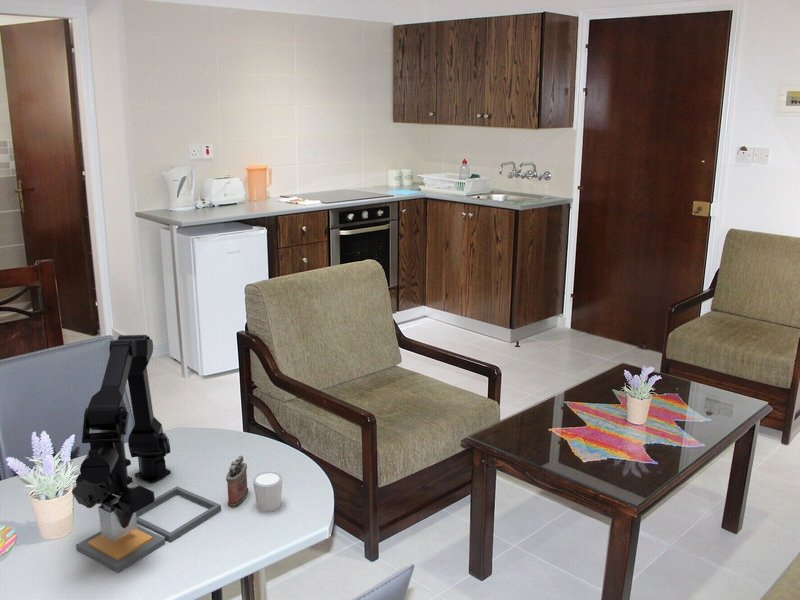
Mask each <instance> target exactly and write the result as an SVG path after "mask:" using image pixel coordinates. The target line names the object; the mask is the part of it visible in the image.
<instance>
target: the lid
mask: <svg viewBox="0 0 800 600" xmlns="http://www.w3.org/2000/svg"><path fill="white" fill-rule="evenodd" d="M165 539H166V537H164V536H162V535H160V534H158V533H156V532H154V531H152V530H150V529H148V528H146V527H144V526H141V525H139V524H137V529H136V530H134V531H132V532H131V533H129V534H127V535H125V536H124V537H122V538H120V539H119V540H117V541H115V542H112V541H110V540H108V539H106V538H105V537H103V536H102V534H101V530H99V531H98V532H97V533H95V534H92V535H91V536H89V537H87V538H86V539H84V540H82V541H80V542H78V543H77V544H75V548H76V549H77V550H76V549H75V550H76V551H78V550H79V551H78V552H80V551H81V552H80V553H82V552H83V553H84V555H85V554H86V556H87V555H88V557H89V556H90V557H89V558H91V559H93V560H94V559H95V560H94V561H97V563H100V564H102V565H104V566H105V567H106V568H109V569H111V570H113V571H114V572H116V573H120V572H122V571H124V570H125V569H127V568H128V567H130V566H132V565H133V564H135V563H136V562H138V561H140V560H141V559H143V558H144V557H146V556H147V555H149V554H151V553H153V552H154V551H156V550H157V549H159V548H161V547H162V546H165V545H166V540H165ZM83 553H82V554H83Z"/></svg>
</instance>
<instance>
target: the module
mask: <svg viewBox="0 0 800 600" xmlns="http://www.w3.org/2000/svg"><path fill="white" fill-rule="evenodd" d="M119 499H120V497H116V498H114V499H113V500H111V501H109V502H107V503H105V504H103V505H101V504H100V505H99V506H98V508H97V509H98V517H99V525H100V531H101V534H102V536H103V537H105V538H106V539H108V540H110V541H112V542H115V541H117V540H119V539H120V538H122V537H124V536H125V535H127V534H129V533H131V532H132V531H134V530H136V529H137V520H136V512H135V513H133V515H132V518H131V520H130V522H129V525H128V526H127V527H126V528H123V527H122V524H121V521H120V516H119V512H118V509H116V508H114V507H112V505H114V504H116V503H117V502H119Z"/></svg>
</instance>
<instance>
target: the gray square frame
mask: <svg viewBox="0 0 800 600" xmlns="http://www.w3.org/2000/svg"><path fill="white" fill-rule="evenodd" d="M176 496H179V497H181V498H184V499H185V500H188V501H191V502H193V503H195V504H198V505H200V506H203V507H204V508H207V510H205V511H204V512H202V513H200V514H198V515H197V516H195V517H194V518H192V519H189V521H187V522H185V523H184V524H182V525H180V526H179V527H177V528H176V529H174V530H172V531H169V530H166V529H164V528H162V527H160V526H158V525H156V524H154V523H152V522H149V521H147V520H145V519H143V518H141V517H140V516H142V515H144V514H145V513H147V512H149V511H150V510H152V509H154V508H156V507H158V506H160V505H162V504H164V503H165V502H167V501H168V500H171V499H172V498H174V497H176ZM221 511H222V504H220V503H218V502H215V501H213V500H211V499H208V498H205V497H203V496H200V495H198V494H196V493H193V492H192V491H190V490H187V489H184V488H183V487H180V486H175V487H172V489H169V490H168V491H165V492H164V493H162V494H161V495H159V496H156V497H155V501H154V502H153V503H151V504H149V505H147V506H146V507H144V508H142V509H140V510H138V511H137V512H136V520H137V524H139V525H141V526H144V527H146V528H148V529H150V530H152V531H154V532H156V533H158V534H160V535H162V536H164V537H166V539H165V541H168V542H169V543H171V542H173V541H175V540H177V539H178V538H180V537H182V536H183V535H184V534H186V533H188V532H189V531H191V530H193V529H194V528H196V527H198V525H199V526H200V524H202V523H205V521H207V520H209V519H210V518H212V517H213V516H215V515H216V514H218V513H220V512H221Z"/></svg>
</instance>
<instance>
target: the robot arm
mask: <svg viewBox="0 0 800 600" xmlns="http://www.w3.org/2000/svg"><path fill="white" fill-rule="evenodd" d="M108 351H109V356H108V360H107V363H106V368H105V371H104V375H103V379H102V383H101V385H100V389H99V390H98V391H97V392H96V393H95V394H94V395H92V396H91V398H90V401H89V403H88V406H87V407H86V408H85V410H84V414H83V425H82V437H81V444H89V447H90V449H89V451H87V454H86V456H85V457H84V459H83V460H82V462H81V465H80V468H79V473H80V474H79V473H78V475H77V477H76V478H75V484H76V486H75V487H73V488H72V491H71V493H72V495H73V497H74V498H75V500H76V502H77V504H79V505H81V506H84V507H85V508H87V509H91V508H94V507H95V506H96V505H100V506H101V505H103V504H105V503H107V502H109V501H111V500H113V499H114V498H116V497H120V499H119V502H117V503H116V504H114V505H112V507H114V508H116V509H118V512H119V516H120V521H121V524H122V527H123V528H126V527H127V526H128V525H129V522H130V520H131V518H132V515H133V513H135V512H137V511H138V510H140V509H142V508H144V507H146V506H147V505H149V504H151V503H153V502H154V501H155V498H156V497H155V491H153V490H152V489H149V488H147V487H145V486H142V485H137V486H134V487H130V486H129V485H130V484H132V483H133V481H134V480H133V477H132V476H129V474H128V467H129V466H131V465H132V463H131V462H132V461H131V459H128V458H127V457H126V449H125V448H126V447H125V441H124V440H125V439H124V438H125V436H127V434H128V427H129V426H128V425H129V418H130V414H129V411H128V407H127V406H126V402H125V400H124V394H125V391H126V386H127V384H128V392H129V397H130V404H131V409H132V416H133V425H132V427H131V430H130V432H129V435H128V438H127V441H128V442H127V443H128V444H127V445H128V450H129V453H130V457H131V458H137V460H138V461H137V462H138V468H139V471H138V472H136V473H134V477H135V478H137V479H140V480H143V481H145V482H147V483H149V484H153V483H155V482H156V481H158V480H160V479H162V478H164V477H166V476H167V475H169V474H171V473H172V471H171V470H170V469H168V468H167V467H166V460H165V457H166V456H167V455H168V454H171V451H172V450H171V443H170V439H169V436H167V434H166V433H165V432H164V429H163V424H162V423H161V422H160V421H159V420H158V419H156V417H155V416H154V411H153V410H154V409H153V404H152V395H151V389H150V388H151V387H150V381H149V375H148V369H147V368H148V365H149V363H150V360H151V357H152V355H153V352H154V341H153V339H151V337H150V336H149V335H147V334H130V335H129V334H125V335H122V334H121V335H118V337H117V339H114V340H113V339H112V340H110V341H109V350H108ZM91 430H92V431H99V432H90V431H91Z"/></svg>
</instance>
